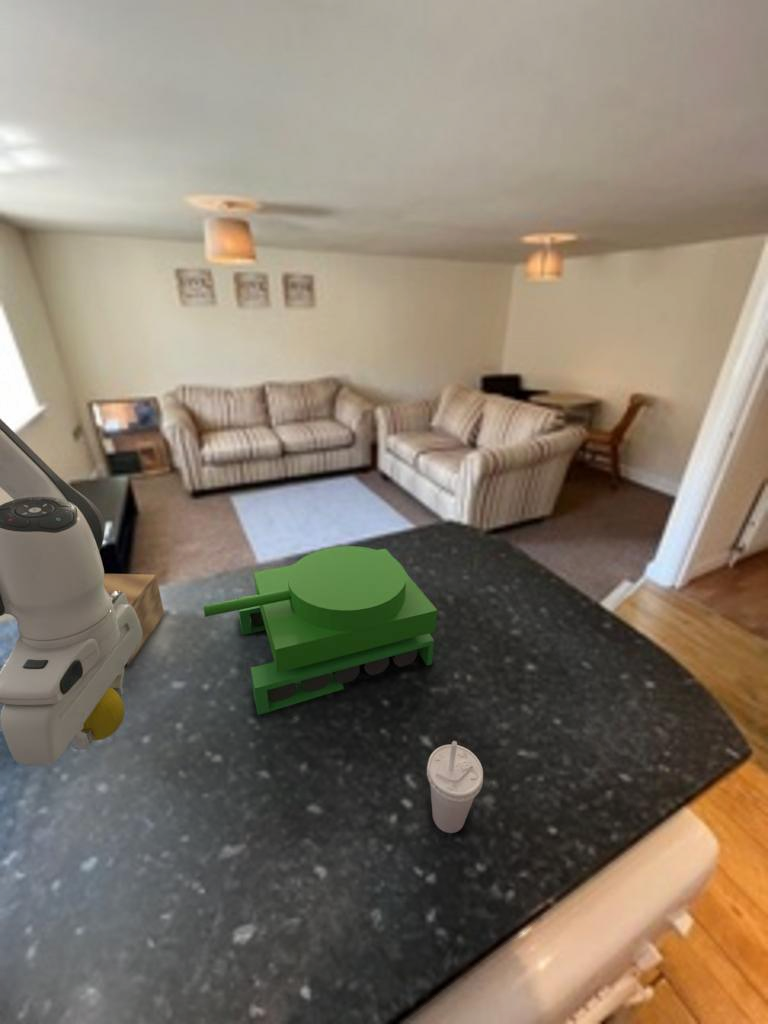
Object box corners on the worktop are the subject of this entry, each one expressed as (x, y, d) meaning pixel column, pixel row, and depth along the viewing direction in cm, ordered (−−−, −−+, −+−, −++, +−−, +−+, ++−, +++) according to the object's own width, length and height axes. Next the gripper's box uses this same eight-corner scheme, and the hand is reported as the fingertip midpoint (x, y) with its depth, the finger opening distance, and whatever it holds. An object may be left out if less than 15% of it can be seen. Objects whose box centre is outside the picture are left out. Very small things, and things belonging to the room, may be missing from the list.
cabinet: (129, 670, 76) (116, 622, 72) (56, 669, 76) (39, 621, 71) (165, 617, 89) (156, 574, 84) (103, 616, 88) (91, 573, 84)
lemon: (99, 761, 55) (84, 714, 52) (70, 743, 57) (53, 697, 54) (138, 727, 60) (127, 682, 56) (110, 711, 62) (97, 667, 58)
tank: (211, 629, 86) (199, 556, 79) (379, 593, 98) (382, 527, 92) (221, 732, 65) (206, 644, 59) (432, 669, 78) (440, 591, 71)
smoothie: (414, 803, 57) (421, 725, 51) (459, 789, 59) (471, 712, 53) (434, 857, 51) (444, 776, 46) (483, 840, 53) (500, 760, 47)
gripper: (97, 582, 61) (118, 660, 66) (-27, 705, 42) (17, 798, 48) (144, 584, 61) (161, 662, 67) (41, 706, 42) (76, 799, 48)
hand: (100, 720), depth 57 cm, fingers closed on lemon, 5 cm apart
